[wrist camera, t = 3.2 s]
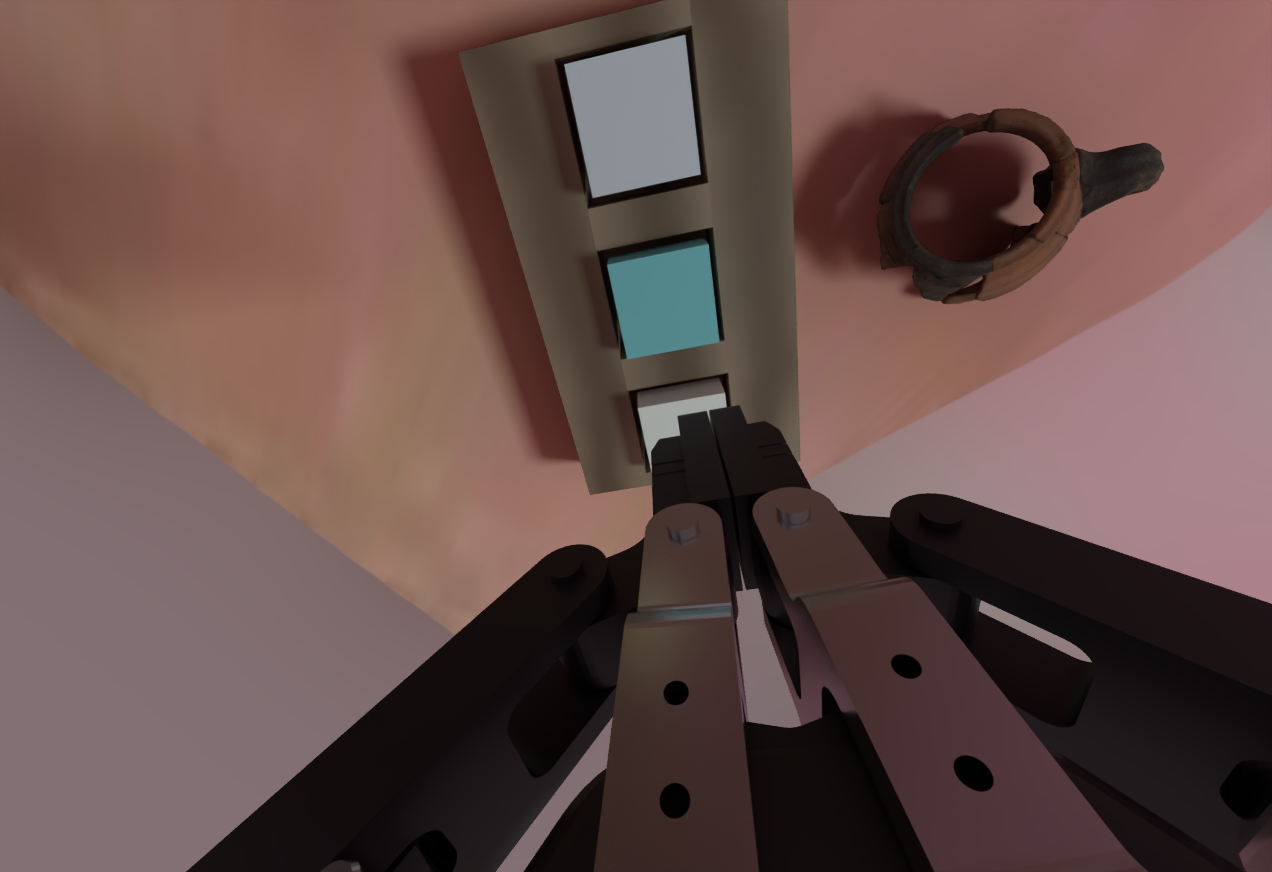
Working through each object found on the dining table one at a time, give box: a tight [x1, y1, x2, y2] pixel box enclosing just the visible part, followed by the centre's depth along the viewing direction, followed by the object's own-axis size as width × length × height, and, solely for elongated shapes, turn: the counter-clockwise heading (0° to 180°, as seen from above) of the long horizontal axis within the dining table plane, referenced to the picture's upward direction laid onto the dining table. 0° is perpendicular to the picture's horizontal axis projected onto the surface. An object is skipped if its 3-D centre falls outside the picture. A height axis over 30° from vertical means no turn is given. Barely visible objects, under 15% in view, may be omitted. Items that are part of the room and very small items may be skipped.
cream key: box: [637, 378, 727, 472], centre depth 29 cm, size 5×5×2 cm
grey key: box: [564, 35, 701, 198], centre depth 22 cm, size 5×5×2 cm
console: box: [458, 0, 800, 495], centre depth 28 cm, size 14×24×4 cm, turn 11°
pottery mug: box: [877, 108, 1164, 304], centre depth 25 cm, size 12×10×8 cm
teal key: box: [607, 238, 719, 359], centre depth 26 cm, size 5×5×2 cm
